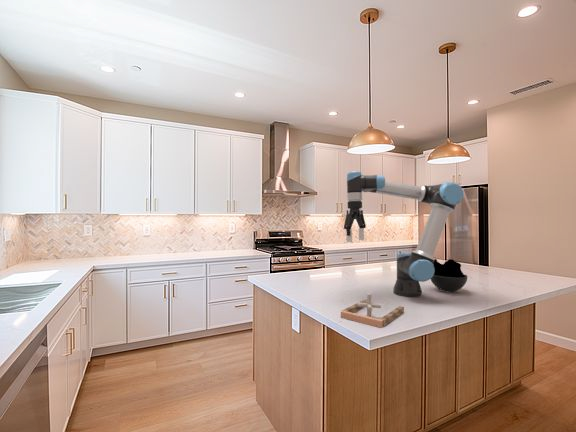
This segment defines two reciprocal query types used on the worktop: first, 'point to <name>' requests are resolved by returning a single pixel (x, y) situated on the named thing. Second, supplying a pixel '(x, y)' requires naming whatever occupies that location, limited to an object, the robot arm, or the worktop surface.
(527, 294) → the worktop surface
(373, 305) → the pipe connector
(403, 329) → the worktop surface
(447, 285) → the bowl of black rocks
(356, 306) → the brown wooden frame
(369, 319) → the band bar
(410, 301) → the worktop surface
